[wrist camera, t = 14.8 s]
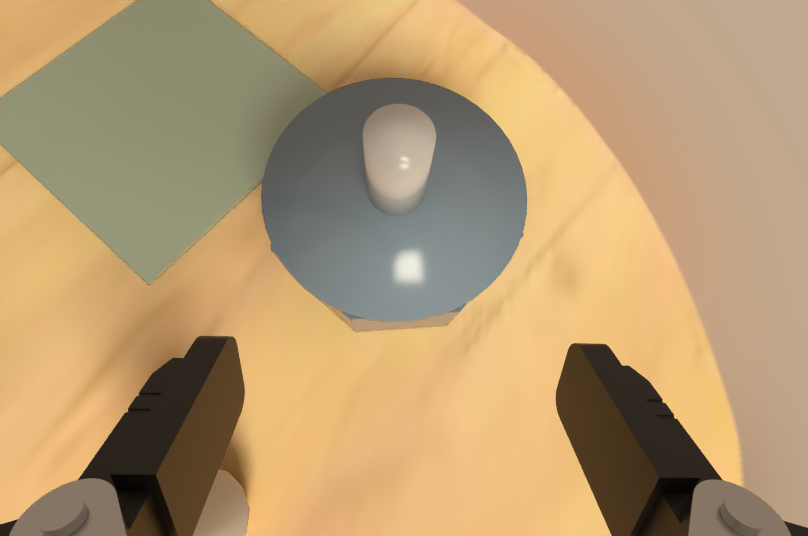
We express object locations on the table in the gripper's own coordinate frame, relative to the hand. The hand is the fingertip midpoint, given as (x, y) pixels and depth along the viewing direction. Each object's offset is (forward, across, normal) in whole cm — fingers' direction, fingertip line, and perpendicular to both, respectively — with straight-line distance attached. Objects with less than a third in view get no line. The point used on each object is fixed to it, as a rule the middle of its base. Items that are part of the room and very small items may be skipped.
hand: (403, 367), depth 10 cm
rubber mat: (+29, +18, -1) cm, 34 cm away
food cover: (+22, 0, +6) cm, 23 cm away
